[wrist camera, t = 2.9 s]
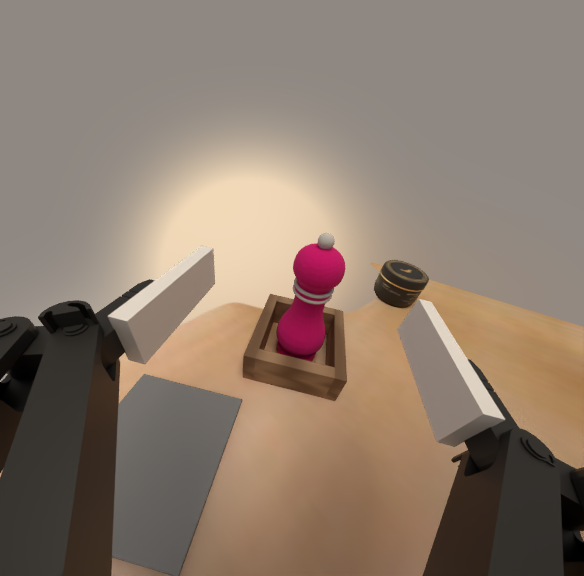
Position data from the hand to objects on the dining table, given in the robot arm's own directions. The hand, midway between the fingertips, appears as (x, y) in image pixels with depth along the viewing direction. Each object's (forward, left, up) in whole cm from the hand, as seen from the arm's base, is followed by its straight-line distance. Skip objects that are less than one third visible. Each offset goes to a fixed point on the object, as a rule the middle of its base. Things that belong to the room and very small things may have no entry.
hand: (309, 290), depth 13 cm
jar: (-22, -33, -20) cm, 45 cm away
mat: (+11, +6, -20) cm, 23 cm away
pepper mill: (-1, -10, -20) cm, 23 cm away
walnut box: (-1, -10, -20) cm, 22 cm away
